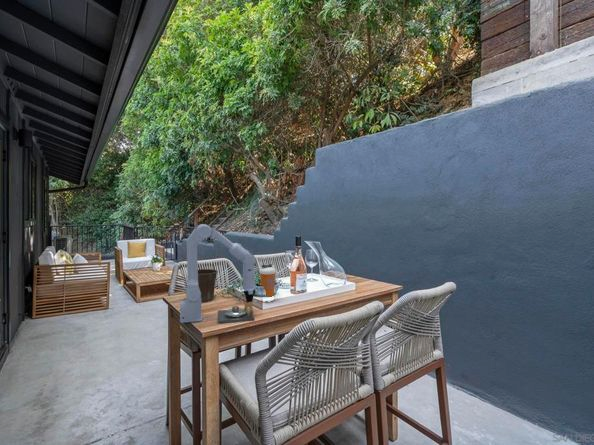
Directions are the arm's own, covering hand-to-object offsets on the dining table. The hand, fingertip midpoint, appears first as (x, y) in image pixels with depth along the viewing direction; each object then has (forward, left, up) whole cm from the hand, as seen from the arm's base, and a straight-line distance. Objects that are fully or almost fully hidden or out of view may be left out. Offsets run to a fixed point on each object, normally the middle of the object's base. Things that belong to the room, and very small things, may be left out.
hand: (249, 305), depth 158 cm
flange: (-5, -4, -2) cm, 7 cm away
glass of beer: (+12, +19, -4) cm, 23 cm away
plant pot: (-23, +31, -4) cm, 39 cm away
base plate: (-7, -4, -4) cm, 9 cm away
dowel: (-1, -9, -3) cm, 10 cm away
